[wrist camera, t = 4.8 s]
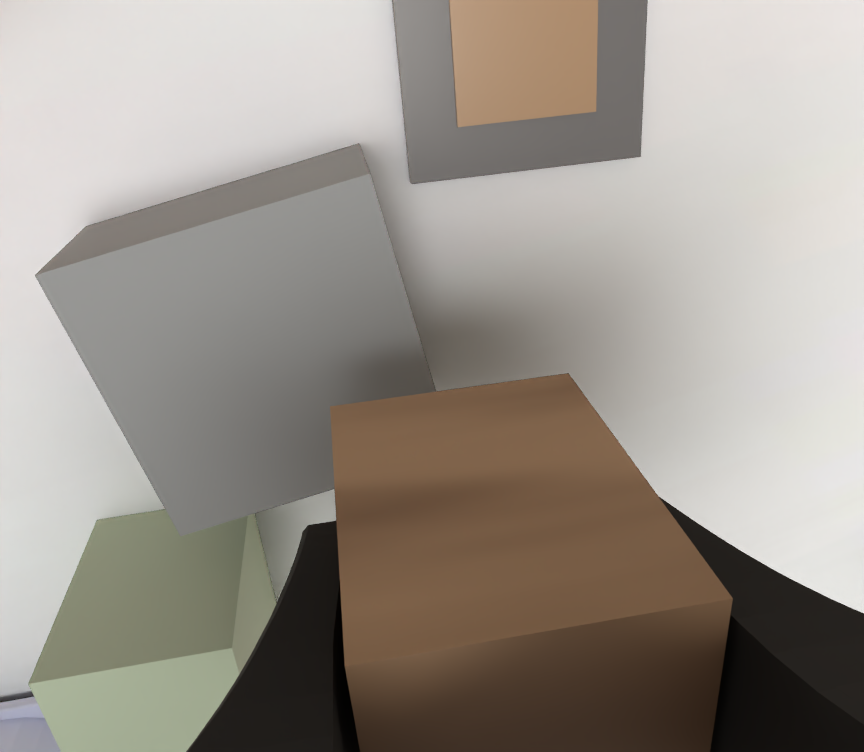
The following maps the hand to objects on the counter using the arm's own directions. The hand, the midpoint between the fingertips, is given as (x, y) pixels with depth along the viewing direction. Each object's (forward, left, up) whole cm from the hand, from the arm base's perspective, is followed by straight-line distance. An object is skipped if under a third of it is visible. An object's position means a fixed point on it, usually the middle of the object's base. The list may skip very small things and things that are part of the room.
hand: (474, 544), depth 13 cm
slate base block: (+2, +4, -9) cm, 10 cm away
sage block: (-6, +8, -9) cm, 13 cm away
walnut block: (0, 0, -2) cm, 2 cm away
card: (+8, -3, -8) cm, 12 cm away
